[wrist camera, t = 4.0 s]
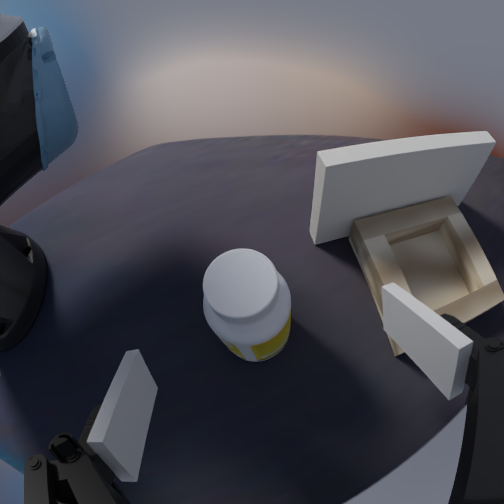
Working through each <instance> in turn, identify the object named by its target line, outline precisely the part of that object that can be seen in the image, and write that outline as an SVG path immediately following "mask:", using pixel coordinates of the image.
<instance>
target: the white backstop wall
mask: <svg viewBox="0 0 504 504" xmlns="http://www.w3.org/2000/svg"><path fill="white" fill-rule="evenodd" d="M495 143H496V141H495V140H494V139H493V138H492V137H491V135H490V134H489V133H488V132H487V131H478V132H463V133H450V134H438V135H428V136H419V137H411V138H402V139H394V140H386V141H379V142H372V143H365V144H359V145H353V146H347V147H341V148H335V149H329V150H324V151H318V152H317V160H316V172H315V183H314V194H313V204H312V213H311V222H310V231H309V232H310V234H311V237H312V239H313V242H314V244H315V245H317V244H321V243H324V242H328V241H332V240H336V239H339V238H343V237H347V236H350V232H351V229H352V226H353V223H354V221H355V220H359V219H363V218H367V217H371V216H375V215H379V214H383V213H387V212H390V211H394V210H398V209H402V208H406V207H410V206H414V205H418V204H422V203H426V202H430V201H434V200H438V199H442V198H446V197H450V196H451V197H452V199H453V200H454V202H455V203H456V205H457V206H459V205H460V203H461V202H462V200H463V198H464V197H465V195H466V194H467V192H468V191H469V189H470V187H471V186H472V184H473V182H474V181H475V179H476V177H477V176H478V174H479V172H480V171H481V169H482V167H483V165H484V164H485V162H486V160H487V158H488V156H489V155H490V153H491V151H492V149H493V147H494V145H495Z"/></svg>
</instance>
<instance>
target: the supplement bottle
mask: <svg viewBox="0 0 504 504" xmlns="http://www.w3.org/2000/svg"><path fill="white" fill-rule="evenodd" d="M203 292H204V298H203V310H204V315H205V318H206V320H207V322H208V324H209V326H210V327H211V329H212V330H213V331H214V333H215V334H216V335H217V336H218V337H219V338H220V340H221V341H222V342H223V343H224V344H225V345H226V346H227V347H228V348H229V350H230V351H231V352H233V353H234V354H235V355H236V356H238V357H240V358H242V359H244V360H247V361H254V362H257V361H264V360H267V359H270V358H272V357H274V356H275V355H277V354H278V353H279V352H280V351H281V350H282V349H283V348H284V346H285V345H286V343H287V340H288V338H289V334H290V324H291V296H290V291H289V288H288V285H287V283H286V281H285V280H284V278H283V277H282V276H281V275H280V273H279V272H277V271H276V268H275V266H274V265H273V263H272V262H271V261H270V260H269V259H268V258H267V257H266V256H265V255H263V254H262V253H260V252H257V251H255V250H251V249H234V250H230V251H227V252H225V253H223V254H221V255H220V256H218V257H217V258H216V259H215V260H213V262H212V263H211V264H210V265H209V267H208V268H207V270H206V272H205V275H204V279H203Z"/></svg>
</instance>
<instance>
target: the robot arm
mask: <svg viewBox="0 0 504 504" xmlns="http://www.w3.org/2000/svg"><path fill="white" fill-rule="evenodd" d="M77 133H78V122H77V119H76V115H75V112H74V109H73V106H72V103H71V100H70V97H69V94H68V91H67V88H66V85H65V82H64V79H63V76H62V73H61V70H60V67H59V64H58V62H57V60H56V55H55V52H54V50H53V46H52V42H51V39H50V36H49V33H48V30H47V29H46V27H40V28H34V29H32V30H31V33H29V32H28V31H27V28H26V26H25V24H24V22H23V19H22V18H21V17H16V16H7V15H1V14H0V206H1V205H2V204H3V203H4V202H5V201H6V200H7V199H8V198H9V197H10V196H12V195H13V194H14V193H15V192H16V191H17V190H18V189H19V188H20V187H22V186H23V185H24V184H25V183H26V182H27V181H28V180H30V179H31V178H32V177H33V176H34V175H36V174H37V173H38V172H39V171H41V170H43V171H44V170H46V169H47V168H48V164H50V163H51V162H52V161H53V160H54V159H55V158H57V157H58V156H59V155H60V154H62V153H63V152H64V151H65V150H67V149H68V148H69V147H70V146H71V145H72V144H73V143H74V141H75V139H76V137H77ZM46 274H47V270H46V261H45V257H44V254H43V251H42V249H41V248H40V246H39V245H38V244H37V243H36V242H34V241H33V240H32V239H31V238H30V237H29V236H28V235H26V234H24V233H22V232H20V231H17V230H14V229H11V228H9V227H6V226H3V225H1V224H0V351H3V350H7V349H10V348H12V347H13V346H15V345H16V344H17V343H18V342H19V341H20V340H21V339H22V338H23V337H24V336H25V335H26V333H27V332H28V330H29V329H30V327H31V326H32V324H33V322H34V320H35V318H36V316H37V314H38V311H39V309H40V306H41V303H42V299H43V296H44V291H45V285H46ZM381 287H382V303H383V325H384V331H385V332H386V333H387V334H388V335H389V336H390V337H391V338H392V339H393V340H394V341H395V342H396V343H397V344H398V345H399V346H400V347H401V348H402V350H403V351H404V352H405V353H406V354H407V355H408V356H409V357H410V358H411V359H412V360H413V361H414V362H415V363H416V365H417V366H418V367H419V368H420V369H421V370H422V371H423V372H424V373H425V374H426V375H427V376H428V378H429V379H430V380H431V381H432V382H433V383H434V384H435V385H436V386H437V388H438V389H439V390H440V391H441V392H442V393H443V394H444V395H445V396H446V398H447V399H448V400H450V399H452V398H454V397H456V396H457V395H459V394H461V393H462V392H463V388H464V384H465V383H466V384H467V385H468V386H469V387H470V388H469V392H468V396H467V399H466V403H465V405H467V413H466V421H465V429H464V436H463V442H462V448H461V453H460V458H459V463H458V468H457V473H456V477H455V481H454V485H453V489H452V492H451V496H450V500H449V503H448V504H504V341H503V340H501V339H499V338H494V337H491V338H486V339H484V338H483V337H482V336H480V335H479V334H478V333H476V332H475V331H474V330H472V329H471V328H470V327H468V326H466V325H465V324H464V323H463V322H461V321H460V320H459V319H457V318H456V317H454V316H452V315H449V314H445V313H444V314H442V315H440V316H439V315H438V314H437V313H435V312H434V311H433V310H431V309H430V308H429V307H427V306H426V305H424V304H423V303H422V302H420V301H419V300H418V299H416V298H415V297H413V296H412V295H411V294H409V293H408V292H406V291H405V290H404V289H402V288H401V287H399V286H398V285H397V284H395V283H394V282H393V283H390V284H387V285H384V286H381ZM157 390H158V387H157V385H156V383H155V381H154V380H153V378H152V376H151V374H150V372H149V370H148V368H147V366H146V364H145V362H144V359H143V357H142V355H141V353H140V351H139V349H136V350H131V351H126V353H125V355H124V357H123V359H122V361H121V363H120V365H119V368H118V370H117V372H116V374H115V376H114V379H113V381H112V383H111V385H110V387H109V390H108V392H107V394H106V396H105V399H104V401H103V403H102V404H97V405H96V406H95V407H94V408H93V409H92V410H91V412H90V414H89V417H88V420H87V421H86V423H85V426H84V428H83V430H82V433H81V435H80V437H79V440H78V442H77V440H76V439H75V438H74V437H73V435H72V434H70V433H67V432H65V433H60V434H58V435H56V436H55V437H53V438H52V440H51V441H50V443H49V446H48V448H49V451H50V452H51V453H52V454H53V455H54V457H55V458H56V459H57V460H53V461H48V460H47V459H46V458H45V457H44V456H43V455H40V454H37V455H34V456H31V457H30V458H29V459H28V460H27V462H26V463H25V467H24V504H130V503H129V501H128V500H127V499H126V497H125V496H124V494H123V493H122V492H121V490H120V489H119V487H118V486H117V484H116V483H115V482H114V481H113V479H114V475H116V476H117V477H118V478H119V479H120V480H121V481H122V482H137V480H138V475H139V470H140V465H141V460H142V455H143V450H144V446H145V441H146V437H147V432H148V428H149V423H150V419H151V415H152V411H153V406H154V402H155V398H156V394H157Z"/></svg>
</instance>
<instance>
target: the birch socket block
mask: <svg viewBox="0 0 504 504" xmlns="http://www.w3.org/2000/svg"><path fill="white" fill-rule="evenodd" d="M349 242H350V244H351V246H352V248H353V251H354V253H355V255H356V257H357V260H358V262H359V264H360V267H361V269H362V271H363V274H364V276H365V279H366V281H367V283H368V286H369V288H370V291H371V293H372V296H373V298H374V301H375V303H376V306H377V308H378V311H379V314H380V316H381V319H382V322H383V303H382V287H381V286H384V285H387V284H390V283H393V282H394V283H395V284H397V285H398V286H399V287H401V288H402V289H404V290H405V291H406V292H408V293H409V294H411V295H412V296H413V297H415V298H416V299H418V300H419V301H420V302H422V303H423V304H424V305H426V306H427V307H429V308H430V309H431V310H433V311H434V312H435V313H437V314H438V315H439V316H440V315H442V314H444V313H445V314H449V315H452V316H454V317H456V318H457V319H459V320H460V321H461V322H463V323H464V324H465V323H467V322H469V321H470V320H472V319H474V318H476V317H478V316H479V315H481V314H483V313H485V312H486V311H488V310H490V309H491V308H493V307H494V306H496V305H497V304H499V303H500V302H502V301H503V300H504V294H503V292H502V289H501V287H500V285H499V283H498V281H497V278H496V276H495V274H494V272H493V270H492V268H491V266H490V264H489V262H488V260H487V258H486V256H485V254H484V252H483V250H482V248H481V246H480V244H479V242H478V241H477V239H476V237H475V235H474V233H473V232H472V230H471V228H470V226H469V225H468V223H467V221H466V220H465V218H464V216H463V215H462V213H461V211H460V210H459V208H458V206H457V205H456V203H455V202H454V200H453V199H452V197H451V196H450V197H446V198H442V199H438V200H434V201H430V202H426V203H422V204H418V205H414V206H410V207H406V208H402V209H398V210H394V211H390V212H387V213H383V214H379V215H375V216H371V217H367V218H363V219H359V220H355V221H354V223H353V226H352V229H351V232H350V236H349ZM387 335H388V334H387ZM388 338H389V341H390V344H391V346H392V349H393V352H394V355H395V357H396V356H398V355H400V354H403V353H405V352H404V351H403V350H402V348H401V347H400V346H399V345H398V344H397V343H396V342H395V341H394V340H393V339H392V338H391V337H390V336H389V335H388Z"/></svg>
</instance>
